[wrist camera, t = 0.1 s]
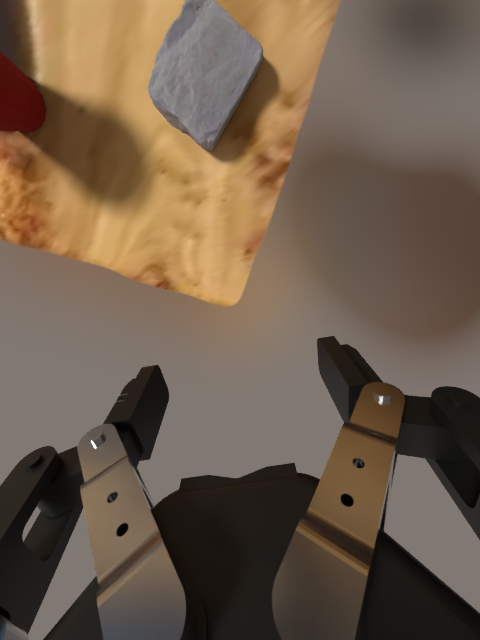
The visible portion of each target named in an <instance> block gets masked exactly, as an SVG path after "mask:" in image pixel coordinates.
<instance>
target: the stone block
mask: <svg viewBox="0 0 480 640" xmlns="http://www.w3.org/2000/svg"><path fill="white" fill-rule="evenodd" d="M262 58H263V49H262V46H261V44H260V43H259V42H258V41H257V39H256V38H254V37H252V36H251V35H250V34H249V33H248V32H247V31H245V30H244V29H243V28H242V27H241V26H240V25H239V24H238V23H237V22H236V21H235V20H234V19H233V18H232V17H231V16H230V15H229V14H228V13H227V11H225V10H224V9H223V8H222V7H221V6H220V5H219V4H218V3H217V2H216V1H215V0H186V1H185V2H184V4H183V7H182V11H181V14H180V16H179V17H178V19H176V20H175V21H174V22H173V23H172V25H171V27H170V29H169V30H168V32H167V34H166V36H165V38H164V40H163V44H162V45H161V47H160V49H159V51H158V53H157V56H156V60H155V68H154V69H153V70H152V75H151V79H150V82H149V86H148V91H149V94H150V97H151V99H152V101H153V104H154V105H155V107H156V108H157V109H158V110H159V112H160V113H161V114H162V115H163V116H164V117H165V118H166V120H167V121H168V122H169V123H170V124H171V125H172V126H173V127H175V128H177V129H179V130H181V132H183V133H187V134H188V135H189V136H190V137H191V138H192V139H193V140H195V142H196V143H197V144H198V145H200V146H201V147H202V148H204V149H206V150H208V151H212V150H213V149H214V147H215V145H216V144H217V142H218V140H219V139H220V137H221V135H222V133H223V132H224V130H225V128H226V126H227V124H228V123H229V121H230V119H231V118H232V116H233V114H234V112H235V111H236V109H237V107H238V105H239V104H240V102H241V100H242V98H243V96H244V94H245V93H246V91H247V89H248V88H249V86H250V84H251V82H252V81H253V79H254V77H255V75H256V74H257V72H258V70H259V68H260V66H261V63H262Z"/></svg>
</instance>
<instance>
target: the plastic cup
mask: <svg viewBox="0 0 480 640" xmlns="http://www.w3.org/2000/svg"><path fill="white" fill-rule="evenodd" d="M45 112H46V109H45V105H44V100H43V97H42V96H41V94H40V92H39V90H38V89H37V87H36V86H35V85H34V83H33V82H32V81H31V80H30V79H29V78H28V77H27V76H26V75H25V74H24V73H23V72H22V71H20V70H19V69H18V68H17V67H16V66H15V65H14V64H13V63H12V62H11V61H10V60H9V59H8V58H7V57H6V56H5V55H4V54H2V53H1V52H0V131H19V132H31V131H34V130H36V129H38V128H40V127H41V125H42V123H43V122H44V120H45Z"/></svg>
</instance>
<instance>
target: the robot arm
mask: <svg viewBox="0 0 480 640" xmlns="http://www.w3.org/2000/svg"><path fill="white" fill-rule="evenodd" d="M317 349H318V364H319V371H320V374H321V377H322V379H323V381H324V383H325V385H326V387H327V389H328V391H329V393H330V395H331V397H332V399H333V401H334V403H335V405H336V407H337V409H338V411H339V413H340V415H341V417H342V419H343V421H344V424H343V426H342V428H341V430H340V433H339V435H338V438H337V440H336V443H335V445H334V448H333V450H332V452H331V455H330V457H329V460H328V462H327V465H326V467H325V470H324V472H323V474H322V477H321V479H318V478H316V477H313V476H310V475H307V474H303V473H297V471H296V467H295V463H290V464H284V465H276V466H270V467H265V468H262V469H260V470H257V471H255V472H253V473H250V474H248V475H245V476H243V477H241V478H228V477H220V476H212V475H206V476H198V477H191V478H184V479H181V483H180V488H179V490H177V491H175V492H173V493H171V494H170V495H168V496H167V497H165V498H164V499H162V500H161V501H160V502H159V503H158V504H156V506H155V505H154V503H153V501H152V498H151V496H150V494H149V492H148V490H147V488H146V486H145V483H144V481H143V479H142V477H141V475H140V472H139V471H138V469H137V465H138V463H139V461H142V460H149V459H150V457H151V454H152V451H153V448H154V444H155V441H156V438H157V435H158V432H159V429H160V426H161V423H162V420H163V416H164V413H165V410H166V407H167V404H168V401H169V392H168V388H167V385H166V383H165V380H164V377H163V375H162V372H161V369H160V367H159V366H158V365H154V366H148V367H142V368H141V370H140V372H139V374H138V375H137V377H136V378H135V379H132V380H131V381H130V382H129V383H128V384H127V385H126V386H125V387H124V389H123V391H122V392H121V394H120V396H119V397H118V399H117V402H116V403H115V405H114V406H113V408H112V410H111V411H110V413H109V415H108V416H107V418H106V420H105V422H104V423H103V425H99V426H97V427H95V428H93V429H92V430H90V431H89V432H88V433H86V434H85V435H84V436H83V437H82V439H81V440H80V442H79V444H78V446H77V447H74V448H71V449H69V450H66V451H64V452H62V453H59V454H58V453H57V451H56V450H55V449H54V448H53V447H51V446H46V447H42V448H39V449H37V450H35V451H33V452H31V453H30V454H28V455H27V456H26V457H24V458H23V459H22V460H21V461H20V462H19V463H18V464H17V465H16V466H15V468H14V469H13V470H12V471H11V473H10V474H9V475H8V477H7V478H6V479H5V481H4V482H3V483H2V485H1V486H0V640H29V638H28V633H29V631H30V628H31V626H32V624H33V621H34V619H35V617H36V615H37V612H38V610H39V608H40V605H41V603H42V601H43V599H44V596H45V594H46V592H47V589H48V587H49V585H50V583H51V580H52V578H53V576H54V573H55V571H56V569H57V566H58V564H59V562H60V560H61V557H62V555H63V552H64V551H65V548H66V546H67V544H68V541H69V539H70V537H71V534H72V532H73V530H74V527H75V525H76V523H77V521H78V518H79V516H80V514H81V511H82V509H83V507H84V513H85V517H86V523H87V528H88V533H89V538H90V544H91V549H92V554H93V559H94V564H95V570H96V575H97V576H96V577H95V578H94V579H93V580H92V582H91V583H90V584H89V585H88V586H87V588H86V589H85V590H84V591H83V592H82V594H81V595H80V596H79V597H78V598H77V600H76V601H75V602H74V603H73V604H72V606H71V607H70V608H69V609H68V610H67V612H66V613H65V614H64V615H63V617H62V618H61V619H60V620H59V621H58V623H57V624H56V625H55V626H54V627H53V629H52V630H51V631H50V632H49V633H48V635H47V636H46V637H45V638H44V639H43V640H480V613H479V612H478V611H477V610H475V609H474V608H473V607H472V606H471V605H470V604H468V603H467V602H466V601H465V600H464V599H463V598H461V597H460V596H459V595H458V594H457V593H456V592H454V591H453V590H452V589H451V588H450V587H448V586H447V585H446V584H445V583H444V582H443V581H442V580H440V579H439V578H438V577H437V576H436V575H434V574H433V573H432V572H431V571H430V570H429V569H427V568H426V567H425V566H424V565H423V564H422V563H421V562H419V561H418V560H417V559H416V558H415V557H413V556H412V555H411V554H410V553H409V552H407V551H406V550H405V549H404V548H403V547H402V546H401V545H399V544H398V543H397V542H396V541H395V540H394V539H392V538H391V537H390V536H389V535H388V534H387V533H385V532H384V530H385V525H386V519H387V513H388V506H389V500H390V495H391V489H392V484H393V478H394V473H395V468H396V462H397V457H398V454H400V455H407V456H414V457H420V458H425V459H426V460H427V462H428V463H429V464H430V466H431V468H432V469H433V471H434V472H435V474H436V475H437V476H438V478H439V480H440V481H441V482H442V484H443V486H444V487H445V488H446V490H447V491H448V493H449V494H450V496H451V497H452V499H453V500H454V502H455V503H456V505H457V506H458V508H459V509H460V511H461V512H462V514H463V515H464V517H465V518H466V520H467V521H468V523H469V524H470V526H471V527H472V529H473V530H474V532H475V533H476V535H477V536H478V538H479V539H480V398H479V397H478V396H476V395H475V394H473V393H471V392H469V391H467V390H464V389H461V388H457V387H448V386H446V387H439V388H436V389H435V390H434V391H433V392H432V395H431V397H418V396H408V395H404V394H403V393H402V391H401V390H400V389H398V388H397V387H395V386H393V385H391V384H388V383H384V382H382V380H381V379H380V378H379V377H378V375H377V374H376V373H375V372H374V371H373V369H372V368H371V367H370V366H369V365H368V363H366V361H365V360H364V358H363V357H361V355H360V354H359V352H358V351H357V350H356V349H355V348H353V347H351V346H349V345H347V344H345V345H340V344H339V342H338V341H337V340H336V338H335V337H334V336H330V337H324V338H319V339H317ZM36 506H37V507H38V508H39V509H40V510H41V512H40V514H39V516H38V517H37V519H36V521H35V523H34V524H33V526H32V528H31V530H30V531H29V533H28V535H27V537H26V539H25V540H24V542H23V540H22V534H23V530H24V527H25V525H26V523H27V521H28V520H29V518H30V516H31V515H32V513H33V511H34V510H35V508H36Z"/></svg>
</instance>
